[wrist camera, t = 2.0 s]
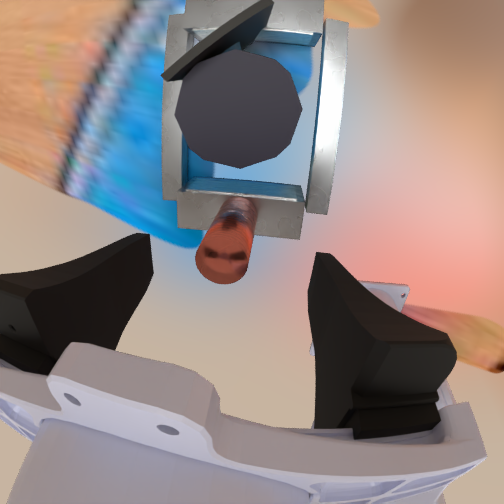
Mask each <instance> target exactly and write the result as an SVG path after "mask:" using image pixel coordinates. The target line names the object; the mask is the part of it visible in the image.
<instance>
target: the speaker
mask: <svg viewBox="0 0 504 504" xmlns="http://www.w3.org/2000/svg"><path fill="white" fill-rule="evenodd" d="M273 6H274V2H273V1H272V0H260V1H258V2H256V3H255V4H253V5H252V6H250V7H248V8H247V9H245V10H244V11H242V12H241V13H239V14H238V15H236V16H235V17H233V18H232V19H230V20H229V21H227V22H226V23H224V24H223V25H222V26H220V27H219V28H217V29H216V30H215V31H213V32H212V33H211V34H209V35H208V36H207V37H205V38H204V39H203V40H201V41H200V42H199V43H198V44H196V45H195V46H194V47H193V48H191V49H190V50H189V51H188V52H187V53H185V54H184V55H183V56H182V57H181V58H179V59H178V60H177V61H176V62H175V63H174V64H172V65H171V66H170V67H169V68H168V69H167V70H166V71H165V72H164V73H162V74H161V76H162V78H163V79H164V80H165V81H166V82H170V81H178V80H183V81H182V85H181V89H180V93H179V97H178V101H177V105H176V109H175V114H174V116H175V118H176V120H177V122H178V125H179V127H180V129H181V131H182V133H183V136H184V138H185V140H186V142H187V144H188V147H189V148H190V149H191V150H192V151H193V152H195V153H196V154H197V155H198V156H200V157H201V158H202V159H203V160H207V161H211V162H215V163H219V164H223V165H228V166H232V167H236V168H239V169H241V168H244V167H247V166H250V165H253V164H256V163H259V162H262V161H265V160H268V159H271V158H274V157H277V156H278V155H279V154H280V153H281V152H282V151H283V150H284V149H285V148H286V147H287V146H288V145H289V144H290V143H291V140H292V137H293V134H294V132H295V129H296V126H297V123H298V120H299V117H300V115H301V112H302V106H301V103H300V100H299V97H298V94H297V91H296V88H295V85H294V83H293V80H292V77H291V74H290V73H289V72H288V71H287V70H286V69H285V68H284V67H283V66H282V65H281V64H280V63H278V62H277V61H276V60H275V59H271V58H268V57H264V56H261V55H257V54H253V53H249V52H245V51H242V50H243V49H244V48H245V47H247V46H248V45H250V44H251V43H253V42H254V41H255V38H256V37H257V36H258V34H259V33H260V31H261V30H262V29H264V27H266V26H267V24H268V21H269V18H270V15H271V12H272V9H273Z"/></svg>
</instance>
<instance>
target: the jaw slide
mask: <svg viewBox="0 0 504 504" xmlns="http://www.w3.org/2000/svg"><path fill="white" fill-rule="evenodd" d="M304 207H305V200H304V197H303V193H302V188H301V186H299V185H291V184H282V183H272V182H262V181H251V180H239V179H224V178H210V177H193V178H192V179H191V180H189V181H188V182H187V183H186V184H185V185H184V186H183V187H181V188H180V189H179V190H178V191H177V218H178V228H186V229H197V230H208V231H207V233H206V235H205V237H204V238H203V240H202V242H201V244H200V246H199V248H198V250H197V252H196V256H195V260H196V265H197V268H198V269H199V271H200V273H201V274H202V275H203V276H204V277H205V278H207V279H208V280H210V281H212V282H214V283H218V284H231V283H234V282H236V281H238V280H240V279H241V278H242V277H243V276H244V275H245V273H246V271H247V268H248V263H249V257H250V253H251V248H252V243H253V238H254V235H259V236H269V237H279V238H289V239H299V240H300V234H301V228H302V221H303V214H304Z"/></svg>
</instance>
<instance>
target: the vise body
mask: <svg viewBox="0 0 504 504" xmlns="http://www.w3.org/2000/svg"><path fill="white" fill-rule="evenodd" d="M258 1H260V0H186V5H185V13H184V14H176V15H169V20H168V29H167V39H166V51H165V64H164V72H165V71H166V70H167V69H168V68H169V67H170V66H171V65H172V64H174V63H175V62H176V61H177V60H178V59H179V58H181V57H182V56H183V55H184V54H185V53H187V52H188V51H189V50H190V49H191V48H193V41H194V37H195V38H196V39H198V40H199V41H201V40H203V39H204V38H205V37H207V36H208V35H209V34H211V33H212V32H213V31H215V30H216V29H217V28H219V27H220V26H222V25H223V24H224V23H226V22H227V21H229V20H230V19H232V18H233V17H235V16H236V15H238V14H239V13H241V12H242V11H244V10H245V9H247V8H248V7H250V6H252V5H253V4H255V3H256V2H258ZM272 1H273V2H274V6H273V9H272V12H271V15H270V18H269V21H268V24H267V26H266V27H264V29H262V30H261V31H260V33H259V34H258V36H257V37H256V38H255V41H260V42H275V43H287V44H296V45H304V46H312V47H315V45H316V44H317V42H318V40H319V38H320V37H321V35H322V34H323V36H322V52H321V65H320V77H319V88H318V101H317V110H316V120H315V130H314V138H313V146H312V155H311V164H310V171H309V179H308V186H307V194H306V201H305V208H306V212H309V213H316V214H324V215H327V212H328V207H329V201H330V195H331V188H332V182H333V176H334V169H335V162H336V155H337V148H338V140H339V132H340V124H341V115H342V105H343V96H344V85H345V74H346V61H347V45H348V27H349V23H348V22H343V21H338V20H333V19H327V18H326V20H325V22H324V24H323V15H324V0H272ZM182 81H183V80H178V81H170V82H166V81H165V80H164V79H163V101H162V188H163V200H174V201H177V191H178V190H179V189H180V188H181V187H183V186H184V185H185V184H186V183H187V182H188V144H187V142H186V140H185V138H184V136H183V133H182V131H181V129H180V127H179V125H178V122H177V120H176V118H175V116H174V114H175V109H176V105H177V101H178V97H179V93H180V89H181V85H182Z"/></svg>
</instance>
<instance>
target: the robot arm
mask: <svg viewBox="0 0 504 504" xmlns="http://www.w3.org/2000/svg"><path fill="white" fill-rule="evenodd" d="M153 274H154V272H153V263H152V254H151V243H150V234H143V233H136V234H132V235H130V236H127V237H125V238H123V239H121V240H118V241H116V242H114V243H112V244H110V245H108V246H105V247H103V248H101V249H99V250H97V251H94V252H92V253H90V254H87V255H85V256H83V257H80V258H77V259H75V260H72V261H69V262H66V263H63V264H59V265H55V266H52V267H48V268H44V269H39V270H34V271H28V272H21V273H10V274H1V275H0V419H1V420H2V421H4V422H5V423H6V424H8V425H9V426H10V427H11V428H13V429H14V430H16V431H17V432H18V433H20V434H21V435H23V436H24V437H25V438H27V439H28V440H30V441H32V444H31V447H30V449H29V451H28V453H27V455H26V457H25V459H24V462H23V464H22V466H21V469H20V471H19V473H18V475H17V478H16V480H15V483H14V485H13V488H12V490H11V493H10V495H9V498H8V501H7V503H6V504H446V503H445V499H444V495H443V491H444V490H445V488H446V487H447V486H448V485H449V484H450V483H451V482H452V481H454V480H456V479H457V478H459V477H460V476H462V475H464V474H465V473H466V472H468V471H470V470H471V469H473V468H474V467H476V466H477V465H478V464H480V463H481V462H483V461H484V460H485V459H486V458H487V454H486V450H485V447H484V444H483V441H482V438H481V435H480V432H479V429H478V426H477V423H476V420H475V418H474V415H473V412H472V409H471V407H470V404H469V402H463V403H459V404H456V401H455V399H454V396H453V394H452V391H451V389H450V387H449V384H448V382H447V380H446V378H447V377H448V375H449V374H450V373H451V371H452V369H453V367H454V366H455V363H456V360H457V352H456V350H455V348H454V346H453V344H452V342H451V340H450V338H449V336H448V334H447V333H444V332H442V331H439V330H436V329H434V328H431V327H429V326H426V325H424V324H422V323H419V322H417V321H415V320H413V319H411V318H409V317H407V316H406V315H404V314H402V313H400V312H401V310H402V308H403V305H404V303H405V301H406V298H407V296H408V293H409V291H410V288H409V286H408V285H405V284H393V283H381V282H369V281H357V280H356V279H355V278H354V277H353V276H352V275H351V274H350V273H349V272H348V271H347V270H346V269H345V268H344V267H343V265H342V264H341V263H340V262H339V261H338V260H337V259H336V258H335V257H334V256H333V255H331V254H330V253H321V252H316V256H315V261H314V265H313V270H312V275H311V279H310V283H309V288H308V314H309V320H310V327H311V333H312V339H313V340H312V344H311V347H310V355H313V356H315V369H316V371H315V372H316V393H315V396H316V398H315V419H314V422H313V425H312V428H311V429H299V428H298V429H297V428H278V427H271V426H266V425H263V424H258V423H255V422H251V421H247V420H244V419H240V418H237V417H233V416H230V415H226V414H223V413H221V411H220V397H219V395H218V393H217V391H216V389H215V387H214V385H213V384H212V383H211V382H209V381H208V380H206V379H205V378H204V377H202V376H201V375H199V374H198V373H197V372H195V371H192V370H190V369H187V368H184V367H181V366H178V365H175V364H170V363H165V362H160V361H156V360H151V359H147V358H142V357H138V356H134V355H130V354H126V353H122V352H118V351H115V349H116V347H117V344H118V342H119V340H120V337H121V335H122V332H123V330H124V329H125V327H126V325H127V323H128V321H129V320H130V318H131V316H132V314H133V313H134V311H135V309H136V308H137V306H138V304H139V303H140V301H141V299H142V298H143V296H144V294H145V293H146V291H147V288H148V286H149V284H150V281H151V279H152V276H153ZM403 293H404V295H402V294H403Z"/></svg>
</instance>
